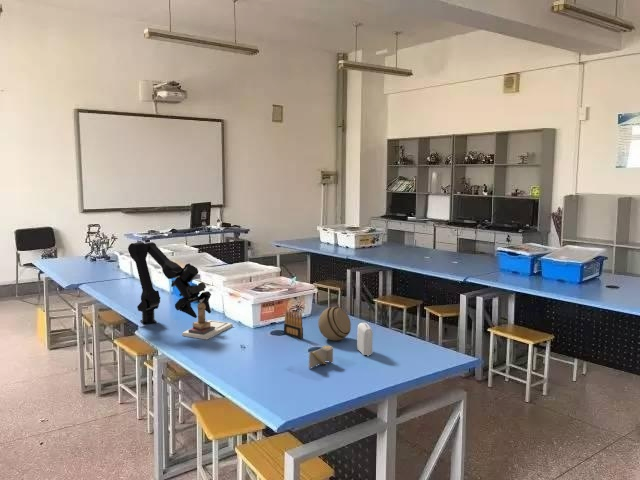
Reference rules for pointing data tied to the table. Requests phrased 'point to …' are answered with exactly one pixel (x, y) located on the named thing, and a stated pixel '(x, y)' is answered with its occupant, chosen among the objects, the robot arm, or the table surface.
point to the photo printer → (364, 338)
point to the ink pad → (201, 331)
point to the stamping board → (218, 329)
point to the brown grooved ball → (334, 323)
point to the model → (321, 356)
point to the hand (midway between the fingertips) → (203, 315)
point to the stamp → (201, 318)
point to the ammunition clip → (293, 324)
